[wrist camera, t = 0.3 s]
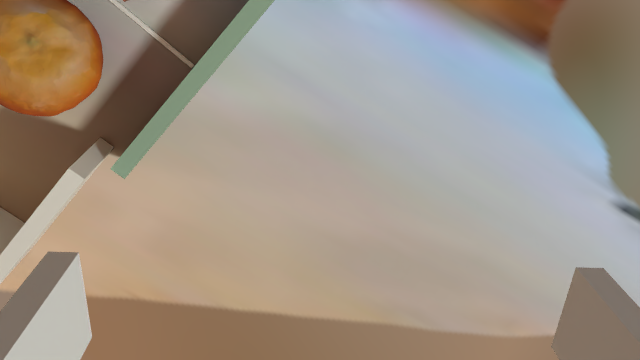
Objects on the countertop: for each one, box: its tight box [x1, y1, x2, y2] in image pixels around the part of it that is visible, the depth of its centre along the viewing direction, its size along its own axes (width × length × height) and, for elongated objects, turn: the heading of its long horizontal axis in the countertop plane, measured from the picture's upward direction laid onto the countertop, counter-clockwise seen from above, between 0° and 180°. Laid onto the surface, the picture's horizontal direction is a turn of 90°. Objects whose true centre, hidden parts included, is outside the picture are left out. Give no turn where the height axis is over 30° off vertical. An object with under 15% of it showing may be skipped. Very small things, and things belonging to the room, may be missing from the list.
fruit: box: [0, 0, 103, 116], centre depth 35 cm, size 8×8×8 cm
